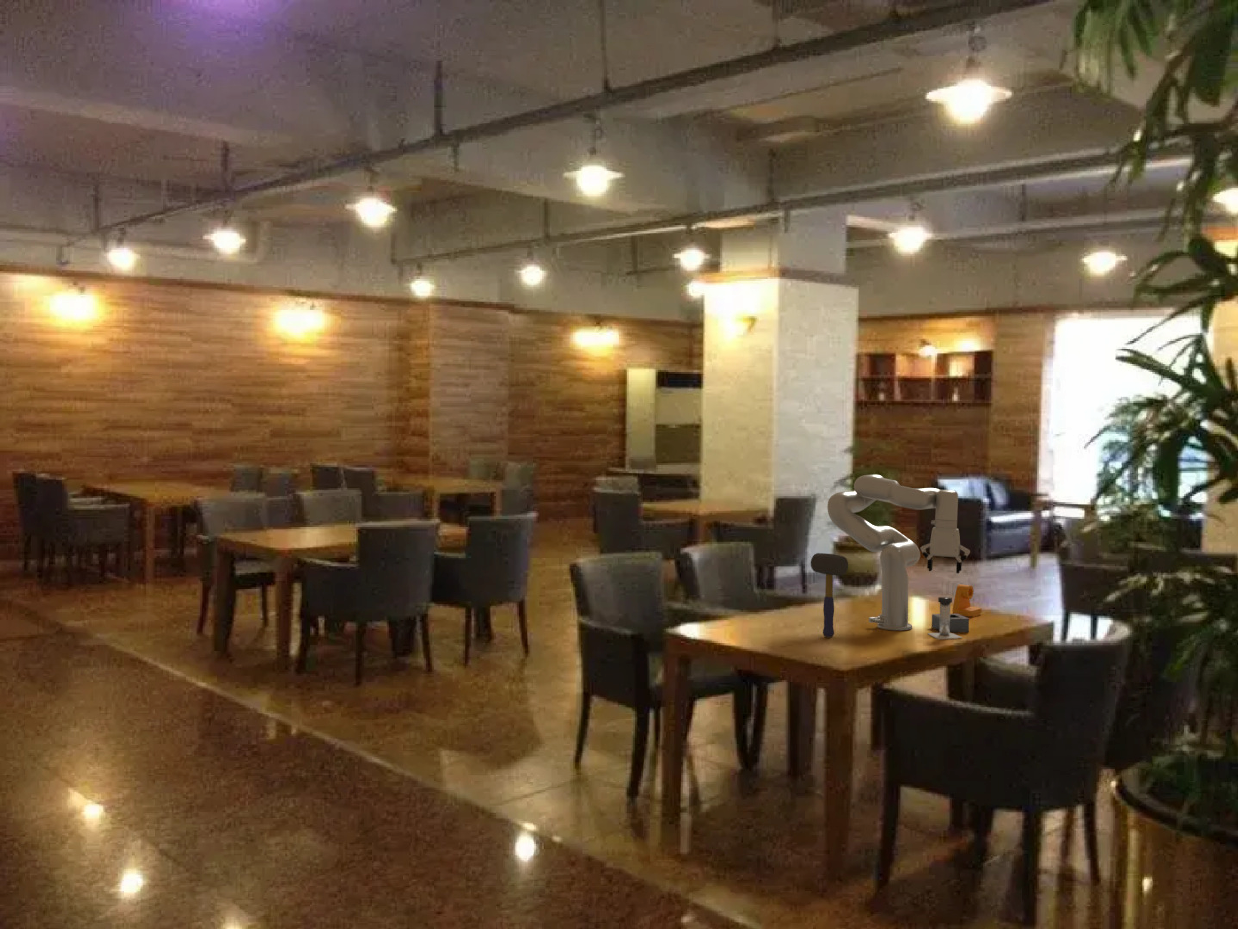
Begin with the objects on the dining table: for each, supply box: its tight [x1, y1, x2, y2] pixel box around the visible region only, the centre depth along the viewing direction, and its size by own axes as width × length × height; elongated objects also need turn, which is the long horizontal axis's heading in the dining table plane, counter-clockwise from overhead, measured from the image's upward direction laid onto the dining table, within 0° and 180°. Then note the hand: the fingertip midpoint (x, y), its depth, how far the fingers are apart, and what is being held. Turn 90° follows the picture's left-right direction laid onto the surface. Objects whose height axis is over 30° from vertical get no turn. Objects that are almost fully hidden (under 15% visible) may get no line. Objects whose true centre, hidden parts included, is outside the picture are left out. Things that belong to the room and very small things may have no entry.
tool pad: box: [927, 632, 963, 640], centre depth 413 cm, size 9×9×1 cm
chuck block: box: [931, 613, 970, 633], centre depth 425 cm, size 10×10×5 cm
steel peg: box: [937, 596, 953, 636], centre depth 413 cm, size 5×5×13 cm
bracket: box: [952, 583, 983, 618], centre depth 455 cm, size 11×7×12 cm, turn 136°
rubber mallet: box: [810, 552, 849, 639], centre depth 410 cm, size 12×8×30 cm, turn 40°
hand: (944, 571), depth 415 cm, fingers open, 9 cm apart
